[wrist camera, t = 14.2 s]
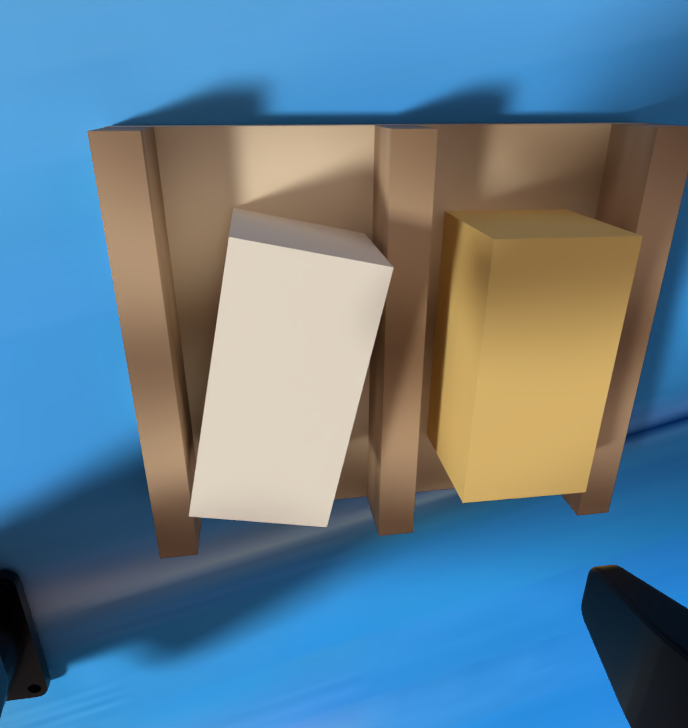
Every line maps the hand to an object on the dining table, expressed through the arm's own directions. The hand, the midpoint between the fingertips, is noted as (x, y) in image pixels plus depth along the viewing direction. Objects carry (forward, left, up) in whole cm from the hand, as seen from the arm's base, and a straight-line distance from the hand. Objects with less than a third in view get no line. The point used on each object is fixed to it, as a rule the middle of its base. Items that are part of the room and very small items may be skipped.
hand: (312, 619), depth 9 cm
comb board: (0, -4, -12) cm, 13 cm away
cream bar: (0, 0, -11) cm, 11 cm away
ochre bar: (0, -7, -11) cm, 13 cm away
